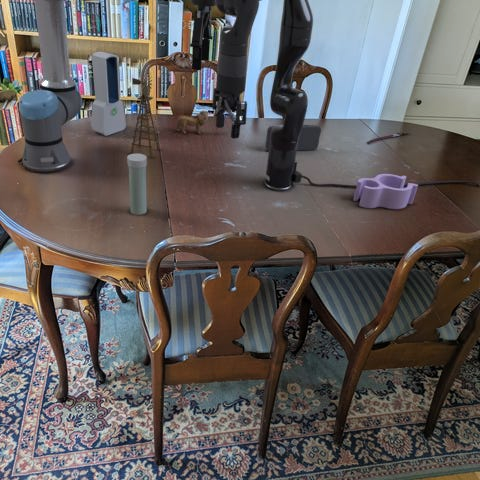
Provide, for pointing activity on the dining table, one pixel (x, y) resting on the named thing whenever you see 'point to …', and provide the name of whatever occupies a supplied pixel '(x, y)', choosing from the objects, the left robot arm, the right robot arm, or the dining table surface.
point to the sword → (386, 137)
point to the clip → (384, 192)
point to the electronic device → (107, 95)
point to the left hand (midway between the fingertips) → (200, 65)
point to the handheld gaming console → (302, 137)
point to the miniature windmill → (144, 98)
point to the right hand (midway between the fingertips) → (227, 132)
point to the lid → (137, 160)
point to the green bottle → (137, 190)
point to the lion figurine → (193, 121)
